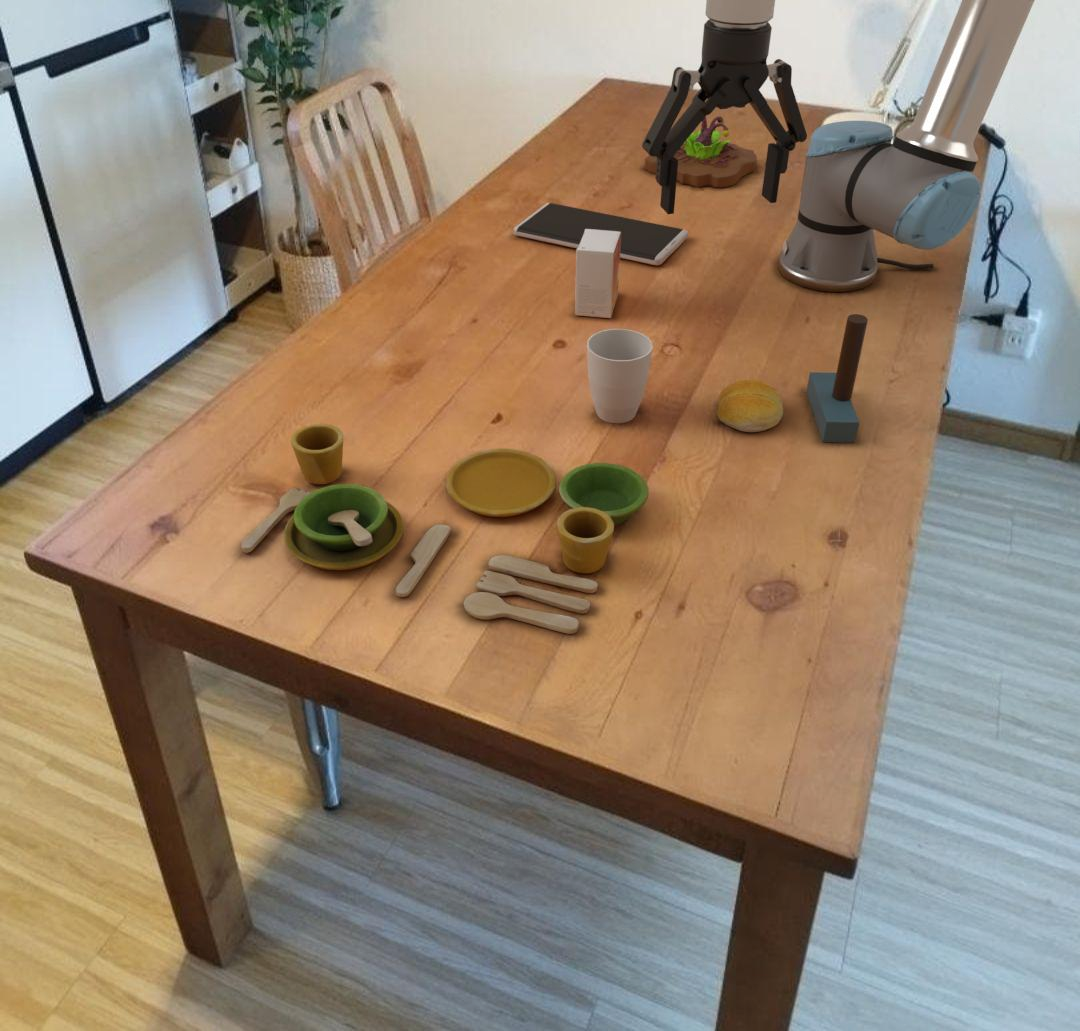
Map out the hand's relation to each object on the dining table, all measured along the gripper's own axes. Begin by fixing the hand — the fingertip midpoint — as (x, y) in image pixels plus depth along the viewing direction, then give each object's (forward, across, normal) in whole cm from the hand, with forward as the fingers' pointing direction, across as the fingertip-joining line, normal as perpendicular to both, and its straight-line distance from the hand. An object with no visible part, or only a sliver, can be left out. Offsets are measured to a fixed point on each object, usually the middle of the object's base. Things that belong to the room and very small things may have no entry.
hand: (718, 204), depth 133 cm
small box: (+24, +8, -22) cm, 33 cm away
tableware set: (+24, +40, +24) cm, 52 cm away
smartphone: (+24, 0, -45) cm, 51 cm away
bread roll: (+24, -2, +12) cm, 27 cm away
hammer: (+23, -12, +16) cm, 31 cm away
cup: (+24, +15, +8) cm, 29 cm away
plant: (+24, -29, -72) cm, 81 cm away
